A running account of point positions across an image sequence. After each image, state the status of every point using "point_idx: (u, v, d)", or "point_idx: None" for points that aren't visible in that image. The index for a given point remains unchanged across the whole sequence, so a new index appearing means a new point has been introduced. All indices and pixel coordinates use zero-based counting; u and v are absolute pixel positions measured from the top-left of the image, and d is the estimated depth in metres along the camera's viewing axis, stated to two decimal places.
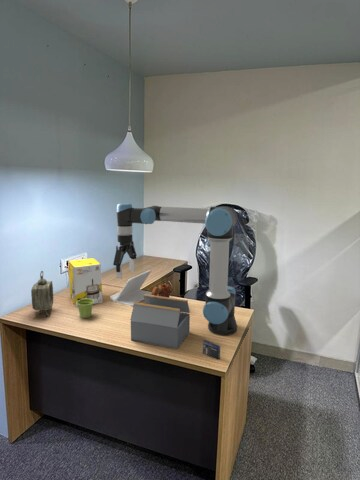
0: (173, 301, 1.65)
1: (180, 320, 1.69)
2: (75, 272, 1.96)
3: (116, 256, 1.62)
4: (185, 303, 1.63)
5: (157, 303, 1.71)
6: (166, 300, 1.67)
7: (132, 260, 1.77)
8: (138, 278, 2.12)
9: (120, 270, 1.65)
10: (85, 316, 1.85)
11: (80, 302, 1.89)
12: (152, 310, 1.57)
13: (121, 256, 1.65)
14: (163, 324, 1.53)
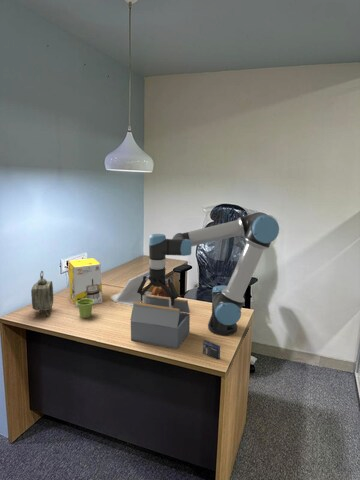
0: None
1: (180, 320, 1.69)
2: (75, 272, 1.96)
3: None
4: (185, 303, 1.63)
5: (157, 303, 1.71)
6: (166, 300, 1.67)
7: None
8: (139, 278, 2.11)
9: (142, 299, 1.60)
10: (85, 316, 1.85)
11: (80, 302, 1.89)
12: (152, 310, 1.56)
13: (146, 287, 1.58)
14: (163, 324, 1.53)
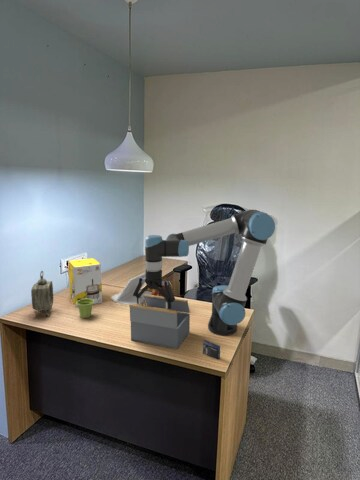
0: (173, 301, 1.65)
1: (180, 320, 1.69)
2: (75, 272, 1.96)
3: None
4: (185, 303, 1.63)
5: (157, 303, 1.71)
6: None
7: None
8: (139, 278, 2.11)
9: (138, 303, 1.56)
10: (85, 316, 1.85)
11: (80, 302, 1.89)
12: (149, 312, 1.53)
13: None
14: (163, 325, 1.52)
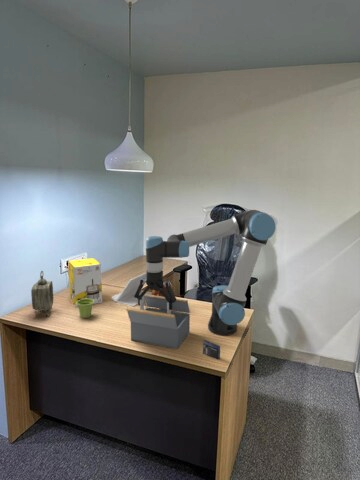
0: None
1: (180, 320, 1.69)
2: (75, 272, 1.96)
3: None
4: (185, 303, 1.63)
5: (157, 303, 1.71)
6: (166, 300, 1.67)
7: None
8: (139, 278, 2.11)
9: (140, 304, 1.56)
10: (85, 316, 1.85)
11: (80, 302, 1.89)
12: (147, 315, 1.52)
13: (143, 291, 1.54)
14: (163, 326, 1.52)
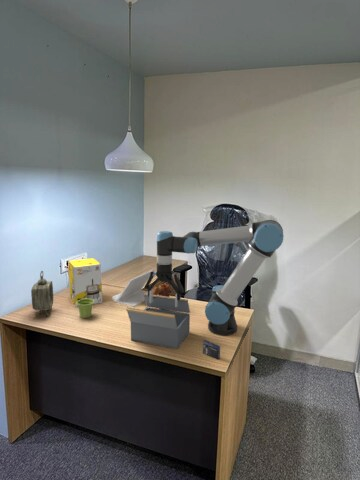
0: (173, 300, 1.66)
1: (180, 320, 1.69)
2: (75, 272, 1.96)
3: None
4: (185, 302, 1.64)
5: (157, 303, 1.71)
6: (166, 299, 1.67)
7: None
8: (140, 278, 2.11)
9: (149, 295, 1.66)
10: (85, 316, 1.85)
11: (80, 302, 1.89)
12: (147, 315, 1.52)
13: (153, 282, 1.65)
14: (163, 326, 1.52)
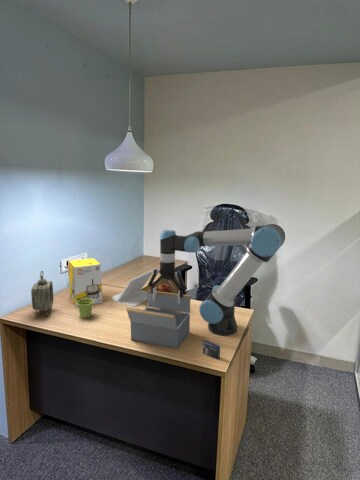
0: (176, 296, 1.69)
1: (180, 320, 1.69)
2: (75, 272, 1.96)
3: None
4: (188, 298, 1.67)
5: (159, 300, 1.73)
6: (169, 295, 1.70)
7: None
8: (140, 278, 2.11)
9: (153, 292, 1.70)
10: (85, 316, 1.85)
11: (80, 302, 1.89)
12: (147, 315, 1.52)
13: (156, 280, 1.69)
14: (163, 326, 1.52)
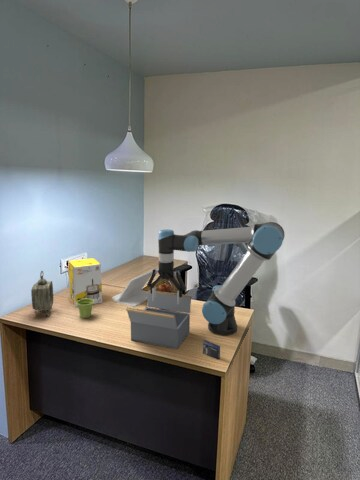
0: None
1: (180, 320, 1.69)
2: (75, 272, 1.96)
3: None
4: (189, 298, 1.68)
5: (159, 300, 1.73)
6: (170, 295, 1.72)
7: None
8: (140, 278, 2.11)
9: (152, 292, 1.69)
10: (85, 316, 1.85)
11: (80, 302, 1.89)
12: (147, 315, 1.52)
13: (155, 280, 1.67)
14: (163, 326, 1.52)
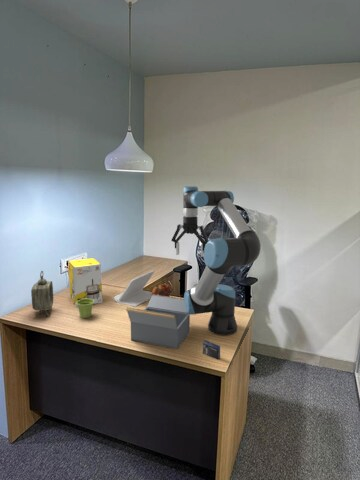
0: (180, 299, 1.76)
1: (180, 320, 1.69)
2: (75, 272, 1.96)
3: None
4: None
5: (161, 302, 1.76)
6: (173, 298, 1.77)
7: None
8: (141, 279, 2.11)
9: (176, 247, 1.78)
10: (85, 316, 1.85)
11: (80, 302, 1.89)
12: (147, 315, 1.52)
13: None
14: (163, 326, 1.52)
